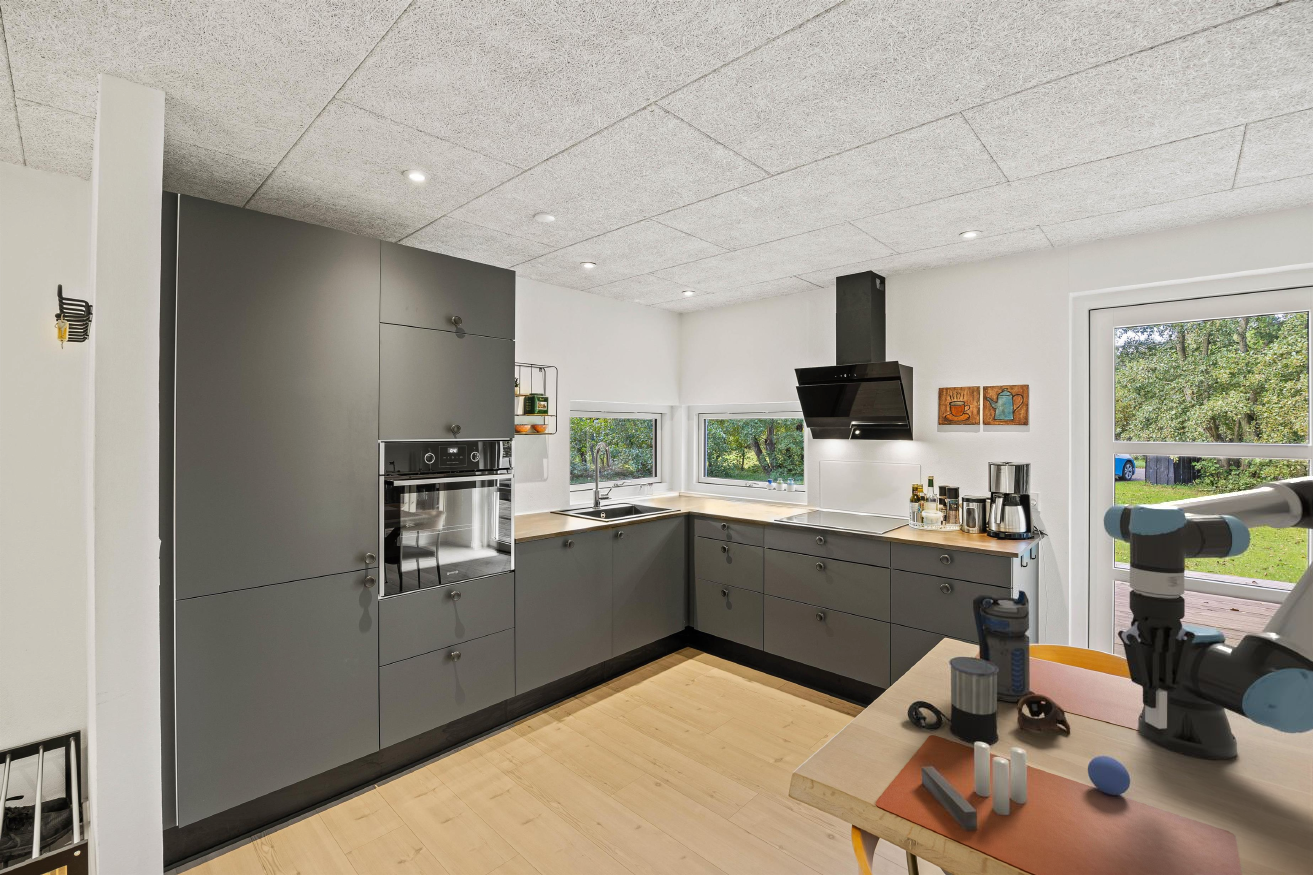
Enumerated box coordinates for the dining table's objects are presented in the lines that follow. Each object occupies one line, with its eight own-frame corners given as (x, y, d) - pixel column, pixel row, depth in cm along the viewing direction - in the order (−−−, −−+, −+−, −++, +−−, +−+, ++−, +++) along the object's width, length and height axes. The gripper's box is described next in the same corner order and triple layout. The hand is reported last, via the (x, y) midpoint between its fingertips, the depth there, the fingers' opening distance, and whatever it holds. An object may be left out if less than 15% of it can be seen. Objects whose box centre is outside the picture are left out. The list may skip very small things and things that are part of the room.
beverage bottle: (962, 687, 149) (962, 587, 148) (1013, 684, 150) (1013, 585, 149) (988, 705, 139) (987, 598, 138) (1042, 703, 140) (1042, 596, 139)
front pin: (1020, 794, 105) (1019, 746, 105) (1030, 802, 103) (1029, 753, 103) (1007, 795, 105) (1007, 747, 105) (1016, 803, 103) (1016, 754, 103)
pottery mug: (1084, 743, 123) (1071, 713, 121) (1039, 759, 125) (1025, 730, 123) (1050, 702, 134) (1037, 674, 133) (1009, 718, 136) (996, 690, 134)
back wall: (932, 782, 109) (932, 765, 109) (977, 829, 96) (977, 811, 96) (921, 783, 109) (921, 766, 109) (965, 830, 96) (965, 812, 96)
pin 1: (984, 788, 107) (983, 741, 107) (993, 796, 105) (992, 748, 105) (971, 789, 107) (971, 742, 107) (980, 797, 105) (979, 749, 105)
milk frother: (1009, 743, 122) (1009, 671, 122) (939, 751, 120) (938, 677, 120) (963, 711, 136) (963, 646, 136) (899, 717, 134) (899, 651, 134)
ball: (1109, 780, 109) (1109, 748, 109) (1139, 801, 103) (1139, 766, 103) (1079, 783, 108) (1079, 750, 108) (1107, 803, 102) (1107, 769, 102)
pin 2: (1003, 805, 102) (1002, 756, 102) (1012, 814, 100) (1012, 764, 100) (989, 806, 102) (989, 757, 102) (999, 815, 100) (998, 765, 100)
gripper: (1142, 599, 102) (1141, 737, 102) (1211, 597, 103) (1210, 733, 103) (1104, 588, 109) (1104, 716, 109) (1169, 585, 110) (1169, 712, 111)
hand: (1155, 724), depth 106 cm, fingers closed
